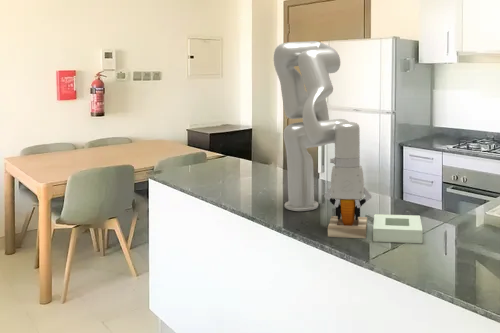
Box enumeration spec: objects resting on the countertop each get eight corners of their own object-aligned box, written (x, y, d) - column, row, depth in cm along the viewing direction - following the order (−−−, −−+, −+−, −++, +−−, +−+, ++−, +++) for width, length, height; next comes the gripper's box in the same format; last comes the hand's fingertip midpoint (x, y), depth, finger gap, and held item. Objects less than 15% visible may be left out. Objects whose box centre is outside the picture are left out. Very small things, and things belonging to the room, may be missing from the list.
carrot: (337, 230, 165) (336, 185, 162) (350, 227, 166) (350, 182, 163) (345, 234, 160) (344, 188, 157) (359, 232, 162) (358, 186, 159)
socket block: (331, 224, 170) (331, 216, 170) (367, 226, 167) (367, 217, 167) (327, 236, 159) (327, 227, 159) (365, 238, 156) (365, 229, 156)
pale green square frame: (374, 226, 167) (374, 214, 166) (419, 227, 163) (419, 215, 162) (373, 241, 154) (373, 228, 153) (422, 243, 150) (422, 230, 149)
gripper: (318, 164, 157) (319, 221, 161) (375, 165, 153) (375, 223, 157) (321, 159, 164) (322, 214, 168) (375, 160, 160) (375, 215, 164)
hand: (347, 218), depth 162 cm, fingers closed on carrot, 4 cm apart
